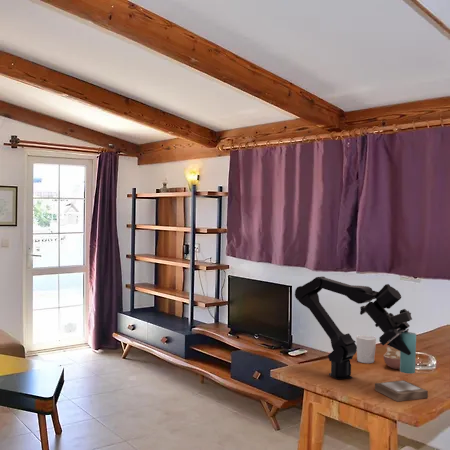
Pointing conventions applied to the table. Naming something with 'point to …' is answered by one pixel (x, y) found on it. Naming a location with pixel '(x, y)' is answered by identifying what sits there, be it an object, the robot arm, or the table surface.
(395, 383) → the picture frame
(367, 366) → the table surface
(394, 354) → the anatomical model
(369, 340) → the white cup
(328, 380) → the table surface
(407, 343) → the teal cylinder
